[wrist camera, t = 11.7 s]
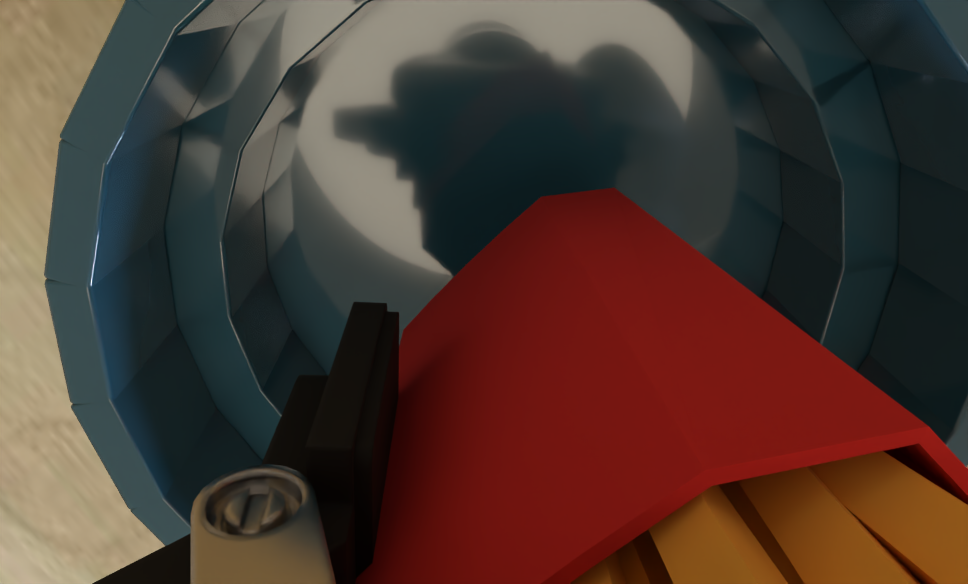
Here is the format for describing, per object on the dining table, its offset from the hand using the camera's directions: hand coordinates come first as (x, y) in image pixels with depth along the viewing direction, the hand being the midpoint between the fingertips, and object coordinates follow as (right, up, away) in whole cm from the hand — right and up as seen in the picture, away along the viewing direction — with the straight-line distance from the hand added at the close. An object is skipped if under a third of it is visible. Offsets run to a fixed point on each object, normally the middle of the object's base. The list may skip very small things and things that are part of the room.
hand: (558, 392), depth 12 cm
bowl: (0, +3, +7) cm, 8 cm away
